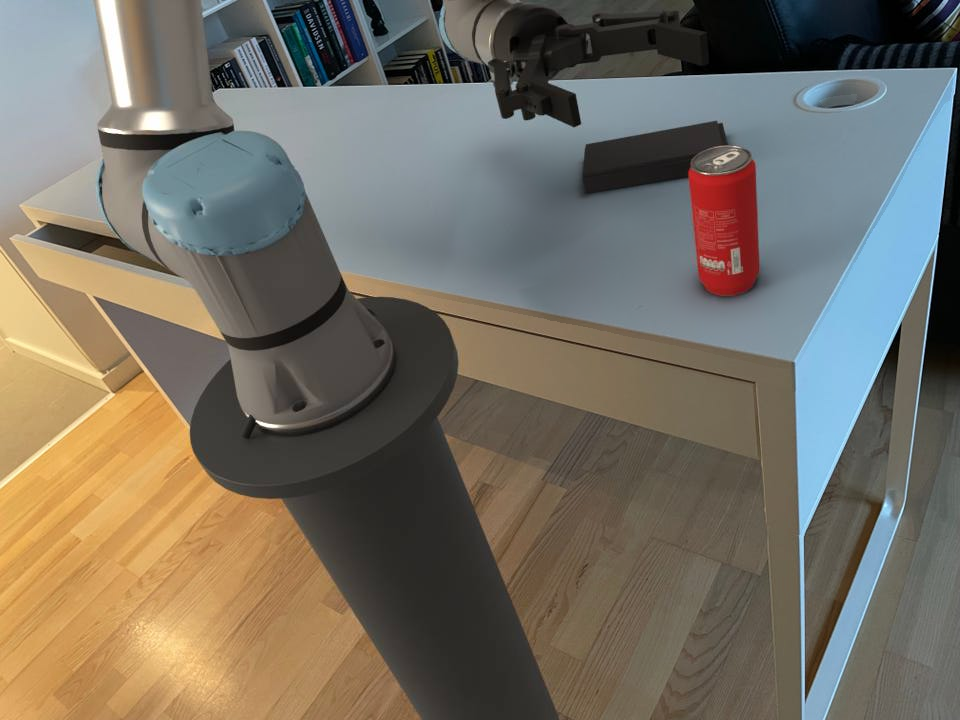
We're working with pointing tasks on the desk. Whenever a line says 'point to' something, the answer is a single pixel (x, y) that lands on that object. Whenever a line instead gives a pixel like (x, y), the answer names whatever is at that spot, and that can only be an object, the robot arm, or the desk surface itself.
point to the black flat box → (647, 156)
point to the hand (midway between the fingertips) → (641, 79)
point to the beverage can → (725, 219)
